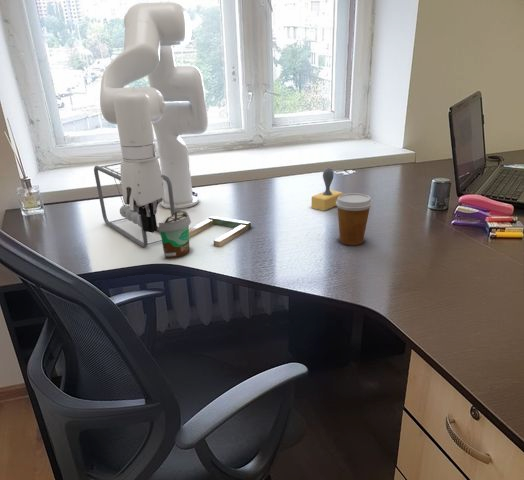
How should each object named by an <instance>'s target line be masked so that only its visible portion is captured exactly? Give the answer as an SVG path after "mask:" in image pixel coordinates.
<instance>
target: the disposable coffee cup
mask: <svg viewBox="0 0 524 480" xmlns="http://www.w3.org/2000/svg"><path fill="white" fill-rule="evenodd" d="M336 205H337V206H336V207H337V218H338V219H337V220H338V232H339V242H340V243H341V244H343V245H347V246H356V245H361V244H362V243H363V242H364V238H365V233H366V229H367V223H368V220H369V219H368V218H369V213H370V209H371V207H372V205H373V201H372V198H371V196H370V195H368V194H364V193H360V192H359V193H358V192H357V193H356V192H353V193H352V192H350V193H349V192H348V193H343V195H340V196H339V197H338V199H337V201H336Z"/></svg>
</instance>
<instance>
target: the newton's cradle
mask: <svg viewBox="0 0 524 480" xmlns="http://www.w3.org/2000/svg"><path fill="white" fill-rule="evenodd" d="M118 165H121V162H117V163H113V164H107V165H102V166H101V165H94V167H93V173H94V179H95V185H96V189H97V195H98V199H99V204H100V209H101V214H102V218H103V221H104V223H105V224H106V225H107V226H109V227H110V228H112V229H113V230H115V231H117V232H118V233H119V234H121V235H123V236H125V237H126V238H128V239H129V240H131V241H132V242H134V243H136V245H139V246H140V247H142V248H147V246H149V245H152V244H157V243H160V242H161V243H162V239H159V240H156V241H151V242H148V236H147V232H145V231H143V226H142V220H141V216H139V214H138V213H137V212H130V210H129V205H127V204H125V203H124V201H123V197H122V195H121V192H120V189H119V187H118V183H117V181H116V180H118V181H119V184H120V187H121V188H122V186H121V170H118V171H116V170H117V169H119V167H115V169H113V168H109V167H114V166H118ZM99 172H101V173H103V174H106V175H108V176H110V177H112V178H113V179H114V182H115V185H116V188H117V191H118V194H119V197H120V199H121V202H122V206H120V208H119V214H120V216H121V217H123V218H119V219H116V220H111V221H109V219H108V216H107V212H106V207H105V199H104V196H103V191H102V184H101V179H100V175H99ZM162 179H163V180H165V181H166V182H167V185H168V193H169V201H170V208H169V209H170V216H172V215H173V214H174V209H175V208H174V199H173V191H172V184H171V181H170V179H169V178H168V177H167V176H165V175H162ZM143 208H144V207H143ZM124 220H127V221H130V222H132V223H133V224H135V225H137V226H138V227H140V230H141V235H142V240H139V239H138V238H136V237H135V236H133V235H132V234H131V233H129V232H127V231H125V230H124V229H122V228H120V226H117V225H116V224H114V223H116V222H119V221H120V222H121V221H124ZM156 232H159V226H157V231H156Z"/></svg>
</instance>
